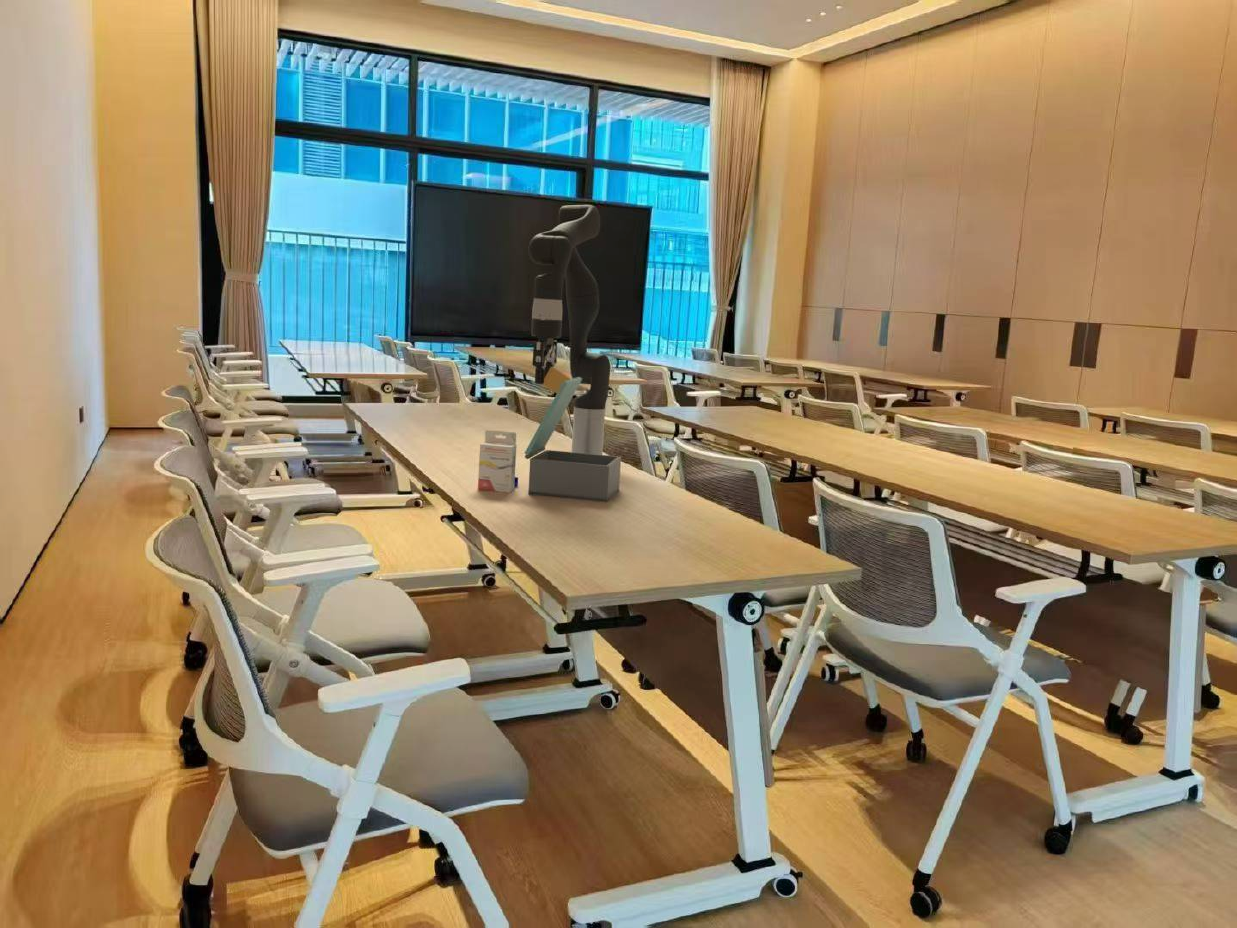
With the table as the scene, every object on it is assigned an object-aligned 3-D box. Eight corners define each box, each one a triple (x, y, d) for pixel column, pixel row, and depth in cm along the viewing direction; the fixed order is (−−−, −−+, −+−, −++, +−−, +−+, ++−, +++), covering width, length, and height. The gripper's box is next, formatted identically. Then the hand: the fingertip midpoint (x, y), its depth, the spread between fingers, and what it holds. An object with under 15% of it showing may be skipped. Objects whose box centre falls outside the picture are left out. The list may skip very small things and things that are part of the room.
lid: (544, 450, 249) (520, 436, 249) (584, 379, 244) (559, 365, 244) (527, 460, 232) (501, 444, 233) (568, 384, 228) (542, 368, 228)
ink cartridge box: (477, 490, 236) (479, 432, 233) (481, 486, 240) (484, 429, 238) (510, 492, 235) (513, 434, 232) (514, 489, 240) (517, 432, 237)
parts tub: (545, 483, 250) (546, 449, 248) (618, 490, 246) (621, 456, 245) (528, 494, 234) (530, 458, 233) (606, 502, 231) (609, 466, 229)
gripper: (540, 316, 242) (537, 379, 245) (524, 316, 228) (521, 383, 231) (568, 318, 241) (565, 381, 243) (554, 318, 227) (551, 385, 230)
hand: (543, 382), depth 237 cm, fingers open, 8 cm apart
